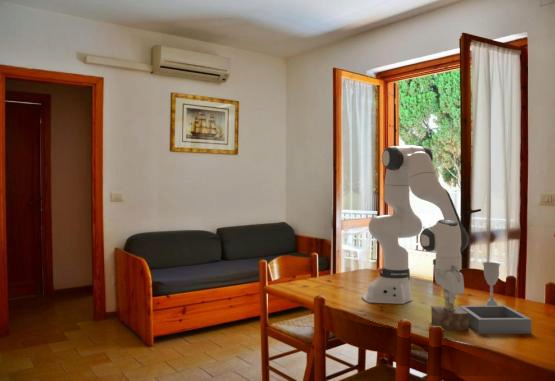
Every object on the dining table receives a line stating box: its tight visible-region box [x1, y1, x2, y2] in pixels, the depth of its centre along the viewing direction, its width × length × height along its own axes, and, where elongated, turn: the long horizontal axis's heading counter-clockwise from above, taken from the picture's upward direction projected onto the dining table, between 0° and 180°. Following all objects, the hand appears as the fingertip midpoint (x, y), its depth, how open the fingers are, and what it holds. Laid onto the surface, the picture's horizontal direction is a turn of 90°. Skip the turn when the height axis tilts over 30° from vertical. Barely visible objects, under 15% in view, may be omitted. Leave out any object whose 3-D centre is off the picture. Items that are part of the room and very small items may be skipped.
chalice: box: [482, 261, 501, 306], centre depth 189 cm, size 7×7×18 cm
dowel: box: [444, 290, 455, 311], centre depth 162 cm, size 3×3×13 cm
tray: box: [458, 304, 533, 335], centre depth 162 cm, size 18×18×5 cm
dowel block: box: [430, 305, 470, 331], centre depth 162 cm, size 10×10×6 cm
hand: (449, 301), depth 162 cm, fingers closed on dowel, 3 cm apart
